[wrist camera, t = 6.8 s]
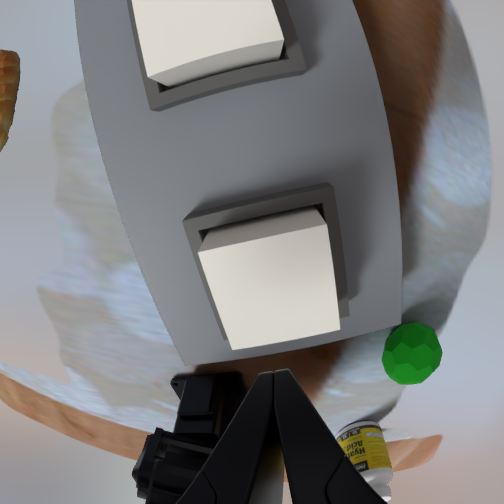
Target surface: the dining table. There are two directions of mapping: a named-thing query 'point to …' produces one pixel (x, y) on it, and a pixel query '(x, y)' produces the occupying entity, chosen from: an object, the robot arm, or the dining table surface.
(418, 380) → the polyhedron
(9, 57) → the pastry
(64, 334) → the dining table surface
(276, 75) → the panel
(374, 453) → the supplement bottle
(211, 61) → the button
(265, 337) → the button
